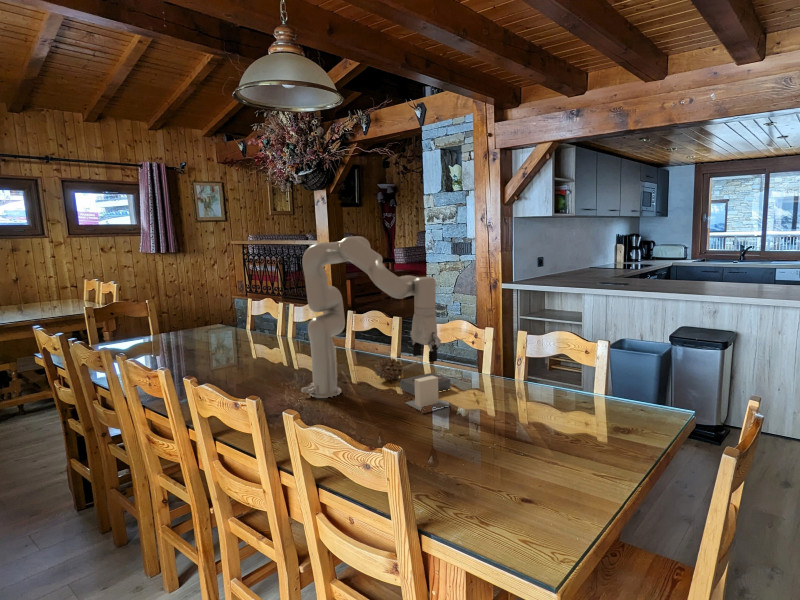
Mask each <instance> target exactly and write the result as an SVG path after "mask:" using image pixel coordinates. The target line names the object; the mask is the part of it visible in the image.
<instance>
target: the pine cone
mask: <svg viewBox="0 0 800 600" xmlns="http://www.w3.org/2000/svg"><path fill="white" fill-rule="evenodd" d="M416 366H418V361H413V363H411V364H409V365H406V366H404V365H403V364H401V362H400V360H397V359H395V358H391V357H386V358H385V357H384V358H382V359H380V360H377V364H375V365H374V367H375V368H374V370H375V375H376V377H377V376H378V377H379V378H380V379H381V380H384V381H388V380H390V379H391V380H392V381H394V379H395V380H396V379H397V380H398V378H400V377H402V376H403V371H405V370H408V369H411V368H414V367H416ZM391 380H390V381H391Z"/></svg>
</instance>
